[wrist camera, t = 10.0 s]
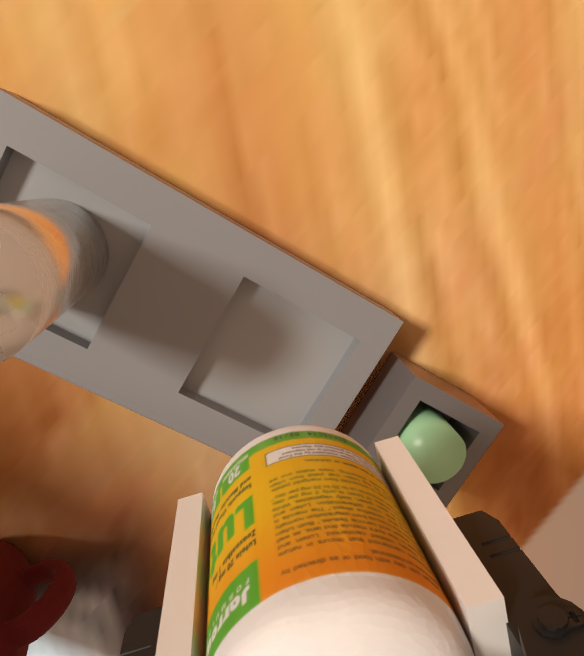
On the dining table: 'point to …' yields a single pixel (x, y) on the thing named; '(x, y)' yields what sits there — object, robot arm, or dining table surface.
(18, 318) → the seated billet
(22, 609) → the mug
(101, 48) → the dining table surface
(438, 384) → the grey square holder
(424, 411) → the light green egg
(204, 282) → the grey slotted tray
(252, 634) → the supplement bottle
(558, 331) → the dining table surface
